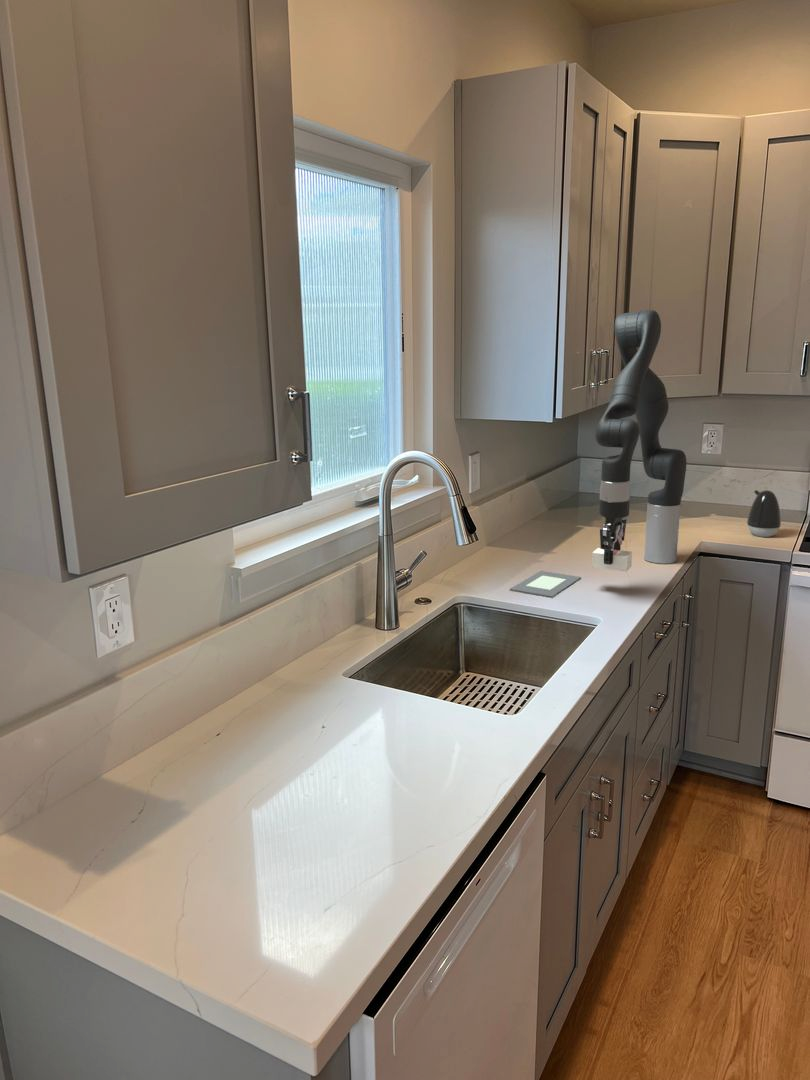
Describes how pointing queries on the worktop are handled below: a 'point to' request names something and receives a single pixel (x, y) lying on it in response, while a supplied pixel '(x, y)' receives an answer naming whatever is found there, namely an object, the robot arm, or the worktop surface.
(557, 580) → the mat
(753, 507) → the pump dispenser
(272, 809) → the worktop surface
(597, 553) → the card deck
